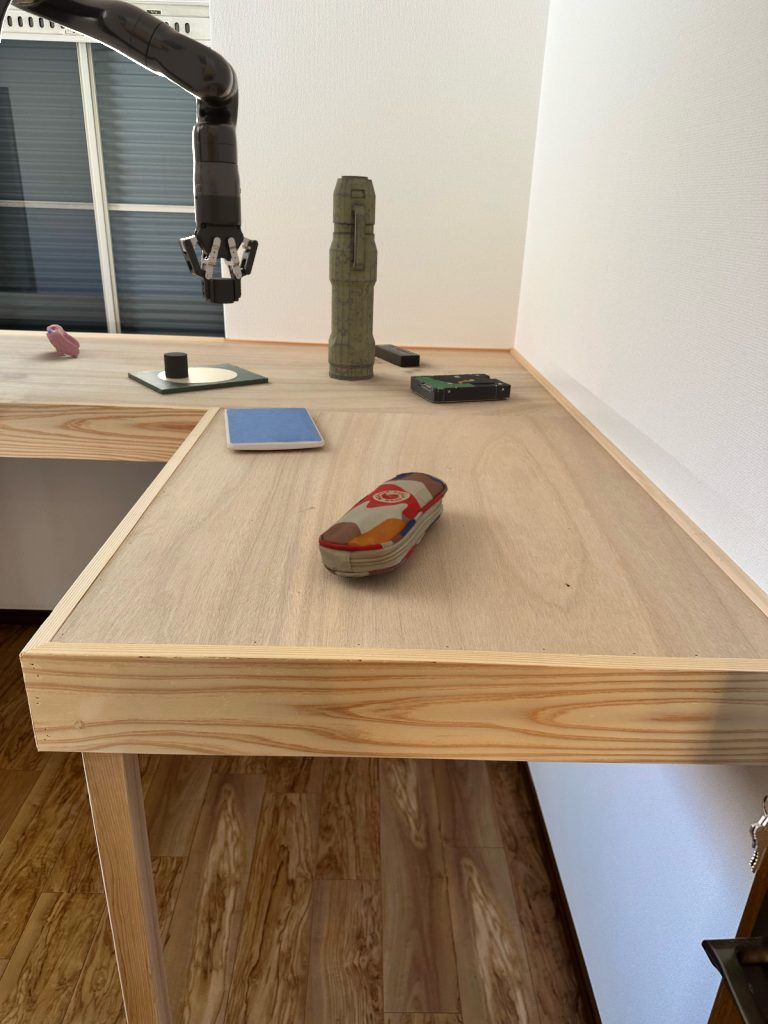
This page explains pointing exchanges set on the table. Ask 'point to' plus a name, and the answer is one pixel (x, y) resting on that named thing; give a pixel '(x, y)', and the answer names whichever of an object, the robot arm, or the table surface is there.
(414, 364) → the multiport hub
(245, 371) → the board
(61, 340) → the pink bird figurine
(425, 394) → the disk drive
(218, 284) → the black cylinder puck
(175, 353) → the dark round peg
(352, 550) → the pencil case
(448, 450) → the table surface
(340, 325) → the thermos
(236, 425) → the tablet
